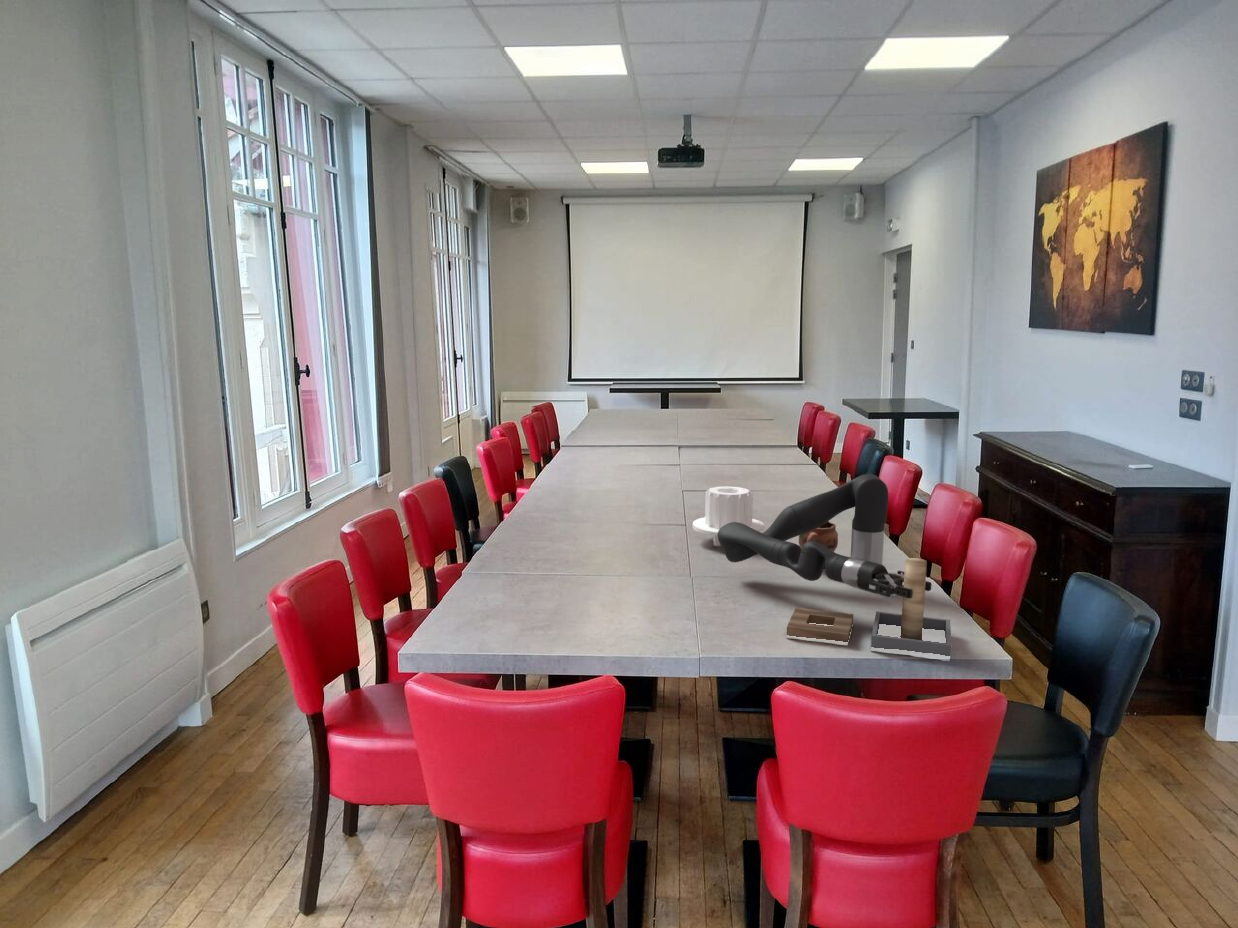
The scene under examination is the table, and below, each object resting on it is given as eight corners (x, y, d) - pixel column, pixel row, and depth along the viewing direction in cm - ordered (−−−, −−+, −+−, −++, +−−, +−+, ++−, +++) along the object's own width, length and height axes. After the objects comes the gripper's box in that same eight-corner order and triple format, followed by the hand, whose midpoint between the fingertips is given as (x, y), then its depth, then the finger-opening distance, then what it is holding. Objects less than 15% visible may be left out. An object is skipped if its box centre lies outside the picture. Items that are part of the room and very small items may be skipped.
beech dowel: (900, 633, 215) (905, 557, 212) (921, 636, 214) (927, 559, 210) (900, 641, 211) (904, 562, 207) (921, 643, 209) (926, 564, 205)
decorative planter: (829, 576, 265) (831, 533, 262) (790, 571, 270) (792, 528, 267) (842, 559, 282) (844, 518, 280) (805, 555, 288) (807, 514, 285)
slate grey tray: (875, 625, 224) (876, 611, 223) (949, 634, 218) (950, 619, 217) (870, 651, 207) (871, 635, 206) (950, 661, 201) (951, 645, 200)
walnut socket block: (795, 618, 229) (795, 607, 229) (853, 625, 224) (853, 614, 224) (786, 638, 215) (786, 626, 215) (847, 646, 210) (848, 634, 210)
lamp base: (761, 534, 314) (763, 483, 310) (766, 553, 289) (767, 499, 286) (693, 532, 316) (693, 482, 313) (691, 551, 292) (692, 497, 288)
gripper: (879, 583, 226) (935, 599, 214) (846, 594, 217) (904, 611, 205) (880, 555, 224) (937, 570, 212) (848, 566, 215) (906, 581, 203)
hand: (921, 590), depth 208 cm, fingers open, 8 cm apart
